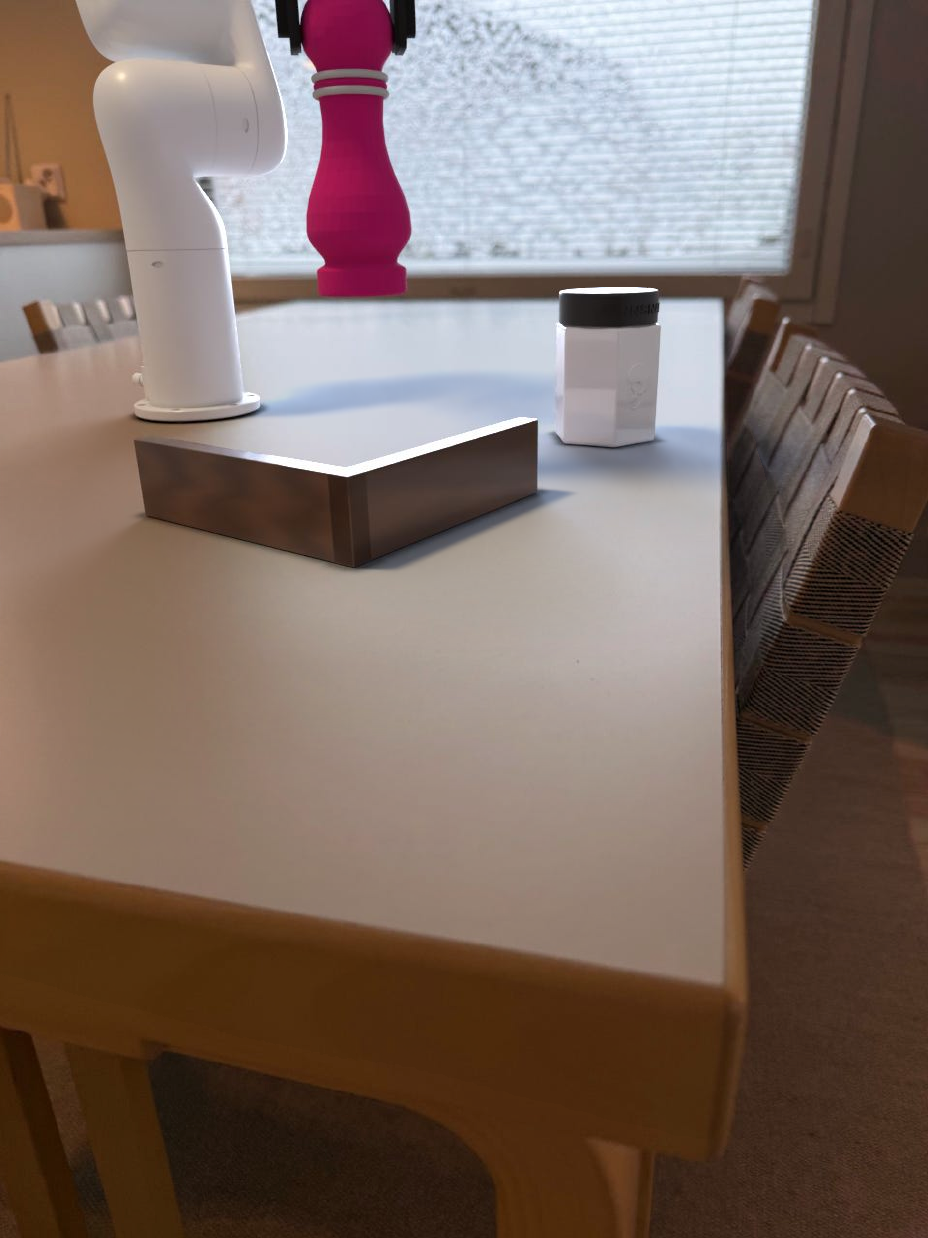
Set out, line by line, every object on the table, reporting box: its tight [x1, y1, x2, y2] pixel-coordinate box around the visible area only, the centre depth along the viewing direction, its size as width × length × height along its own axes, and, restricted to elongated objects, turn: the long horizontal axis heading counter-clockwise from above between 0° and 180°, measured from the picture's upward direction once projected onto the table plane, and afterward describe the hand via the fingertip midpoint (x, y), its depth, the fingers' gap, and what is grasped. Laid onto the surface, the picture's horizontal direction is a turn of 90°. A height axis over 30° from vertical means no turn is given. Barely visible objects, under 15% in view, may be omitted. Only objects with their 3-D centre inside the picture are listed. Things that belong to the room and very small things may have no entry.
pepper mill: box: [299, 0, 412, 298], centre depth 61 cm, size 7×7×20 cm
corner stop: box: [133, 417, 539, 568], centre depth 61 cm, size 18×18×5 cm
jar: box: [554, 287, 662, 448], centre depth 77 cm, size 9×8×12 cm
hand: (347, 48), depth 59 cm, fingers closed on pepper mill, 6 cm apart
